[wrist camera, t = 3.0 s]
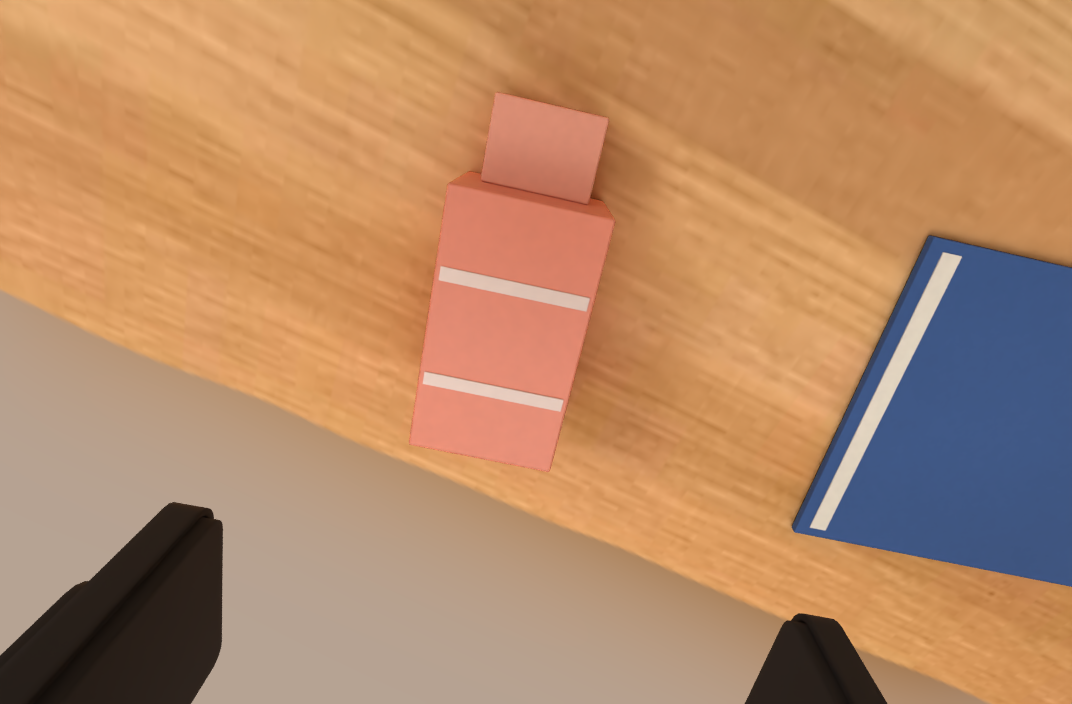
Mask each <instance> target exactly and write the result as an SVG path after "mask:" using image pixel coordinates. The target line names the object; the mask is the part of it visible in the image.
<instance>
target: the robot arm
mask: <svg viewBox="0 0 1072 704" xmlns="http://www.w3.org/2000/svg"><path fill="white" fill-rule="evenodd" d="M222 545H223V526H222V522H221V521H220V520H216V519H214V516H213V512H212V510H211V509H209V508H204V507H198V506H192V505H187V504H181V503H176V502H173V503H169V504H168V505H167V506H165V507H164V508H163V509H162V510H161V511H160V512H159V513H158V514H157V515H156V516H155V517H154V518H153V519H152V520H151V521H150V522H149V523H148V524H147V525H146V526H145V527H144V528H143V529H142V530H141V531H140V532H139V533H138V534H136V536H135V537H133V538H132V539H131V540H130V541H129V543H127V544H126V545H125V546H124V547H123V548H122V549H121V550H120V551H119V552H118V553H117V554H116V555H115V556H114V557H113V558H112V559H111V560H110V561H109V562H108V563H107V564H106V565H105V566H104V567H103V568H102V569H101V570H100V571H99V572H98V573H97V574H96V575H95V576H94V577H93V578H92V579H91V580H90V581H84V582H82V583H80V584H77V585H75V586H74V587H73V588H71V589H70V590H69V591H68V592H66V593H65V594H64V595H63V596H62V597H61V598H60V599H59V600H58V601H57V602H56V603H55V604H54V605H53V606H51V607H50V608H49V610H47V611H46V612H45V613H44V614H43V615H42V616H41V617H40V618H39V619H38V620H37V621H36V622H35V623H34V624H33V625H32V626H31V627H30V628H29V629H28V630H26V631H25V633H23V634H22V635H21V636H20V637H19V638H18V639H17V640H16V641H15V642H14V643H13V644H12V645H11V646H10V647H9V648H8V649H7V650H6V651H5V652H4V653H2V654H1V655H0V704H191V703H192V701H193V699H194V698H195V696H196V695H197V693H198V691H199V689H200V688H201V686H202V685H203V683H204V682H205V680H206V678H207V677H208V675H209V674H210V672H211V670H212V669H213V667H214V665H215V663H216V660H217V658H218V656H219V652H220V649H221V642H222V551H223V550H222V549H223V546H222ZM745 704H887V702H886V701H885V699H884V697H883V696H882V694H881V692H880V691H879V689H878V687H877V685H876V684H875V682H874V680H873V679H872V677H871V676H870V674H869V672H868V670H867V669H866V667H865V665H864V664H863V662H862V660H861V659H860V657H859V655H858V653H857V652H856V650H855V648H854V647H853V645H852V643H851V642H850V640H849V638H848V637H847V635H846V633H845V632H844V630H843V628H842V627H841V626H840V624H839V623H838V622H837V621H835V620H834V619H830V618H825V617H819V616H813V615H808V614H800V613H798V614H797V615H795V616H794V617H793V619H792V620H791V621H786V622H785V623H784V624H783V625H782V627H781V629H780V631H779V633H778V635H777V637H776V639H775V642H774V644H773V646H772V648H771V650H770V652H769V654H768V656H767V658H766V661H765V662H764V665H763V667H762V669H761V671H760V673H759V675H758V677H757V679H756V681H755V683H754V686H753V688H752V690H751V692H750V694H749V696H748V698H747V700H746V702H745Z"/></svg>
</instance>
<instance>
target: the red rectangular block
mask: <svg viewBox="0 0 1072 704" xmlns="http://www.w3.org/2000/svg"><path fill="white" fill-rule="evenodd" d="M608 123H609V118H607V117H604V116H599V115H595V114H591V113H586V112H582V111H578V110H573V109H569V108H565V107H561V106H556V105H552V104H548V103H543V102H539V101H535V100H530V99H526V98H522V97H518V96H513V95H509V94H505V93H500V92H496V93H495V97H494V103H493V109H492V115H491V121H490V127H489V133H488V138H487V144H486V150H485V156H484V162H483V168H482V174H479V173H475V172H470V171H469V172H467V173H465V174H463V175H462V176H460V177H458V178H456V179H455V180H453V181H451V182H449V183H448V185H447V191H446V198H445V205H444V211H443V218H442V225H441V231H440V238H439V245H438V251H437V258H436V265H435V271H434V278H433V285H432V291H431V298H430V305H429V311H428V318H427V325H426V331H425V338H424V345H423V351H422V358H421V365H420V372H419V378H418V385H417V392H416V398H415V405H414V412H413V418H412V425H411V432H410V438H409V444H410V445H414V446H419V447H424V448H429V449H435V450H440V451H445V452H450V453H455V454H460V455H465V456H470V457H475V458H480V459H485V460H490V461H495V462H500V463H505V464H510V465H516V466H521V467H526V468H531V469H536V470H541V471H546V472H549V471H550V469H551V465H552V461H553V458H554V454H555V450H556V446H557V442H558V439H559V435H560V431H561V427H562V423H563V420H564V416H565V412H566V408H567V404H568V401H569V397H570V393H571V389H572V385H573V382H574V378H575V374H576V370H577V366H578V363H579V359H580V355H581V351H582V347H583V343H584V340H585V336H586V332H587V328H588V324H589V321H590V317H591V313H592V309H593V305H594V302H595V298H596V294H597V290H598V286H599V283H600V279H601V275H602V271H603V267H604V264H605V260H606V256H607V252H608V248H609V245H610V241H611V237H612V233H613V229H614V226H615V219H614V218H613V216H612V214H611V213H610V211H609V210H608V208H607V207H606V205H605V204H604V202H603V201H600V200H595V199H591V198H590V197H591V193H592V189H593V185H594V181H595V177H596V172H597V168H598V164H599V160H600V156H601V152H602V148H603V144H604V139H605V135H606V131H607V127H608Z"/></svg>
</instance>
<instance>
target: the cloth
mask: <svg viewBox="0 0 1072 704" xmlns="http://www.w3.org/2000/svg"><path fill="white" fill-rule="evenodd" d="M792 529H793V531H794V532H796V533H801V534H806V535H811V536H817V537H822V538H827V539H832V540H837V541H842V542H847V543H852V544H857V545H862V546H867V547H873V548H878V549H883V550H888V551H893V552H898V553H903V554H908V555H913V556H918V557H923V558H928V559H934V560H939V561H944V562H949V563H954V564H959V565H964V566H969V567H974V568H979V569H984V570H990V571H995V572H1000V573H1005V574H1010V575H1015V576H1020V577H1025V578H1030V579H1035V580H1040V581H1046V582H1051V583H1056V584H1061V585H1066V586H1071V587H1072V268H1071V267H1067V266H1062V265H1058V264H1053V263H1049V262H1045V261H1040V260H1036V259H1031V258H1027V257H1023V256H1018V255H1014V254H1010V253H1005V252H1001V251H996V250H992V249H988V248H983V247H979V246H975V245H970V244H966V243H961V242H957V241H953V240H948V239H944V238H939V237H935V236H931V235H930V236H928V238H927V240H926V243H925V245H924V247H923V249H922V251H921V253H920V255H919V257H918V260H917V262H916V264H915V266H914V268H913V270H912V272H911V274H910V277H909V279H908V281H907V283H906V285H905V287H904V289H903V291H902V294H901V296H900V298H899V300H898V302H897V304H896V306H895V308H894V311H893V313H892V315H891V317H890V319H889V321H888V323H887V325H886V328H885V330H884V332H883V334H882V336H881V338H880V340H879V342H878V345H877V347H876V349H875V351H874V353H873V355H872V357H871V359H870V362H869V364H868V366H867V368H866V370H865V372H864V374H863V376H862V379H861V381H860V383H859V385H858V387H857V389H856V391H855V393H854V396H853V398H852V400H851V402H850V404H849V406H848V408H847V410H846V413H845V415H844V417H843V419H842V421H841V423H840V425H839V427H838V430H837V432H836V434H835V436H834V438H833V440H832V442H831V444H830V447H829V449H828V451H827V453H826V455H825V457H824V459H823V461H822V464H821V466H820V468H819V470H818V472H817V474H816V476H815V478H814V481H813V483H812V485H811V487H810V489H809V491H808V493H807V495H806V498H805V500H804V502H803V504H802V506H801V508H800V510H799V512H798V515H797V517H796V519H795V521H794V523H793V525H792Z"/></svg>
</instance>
